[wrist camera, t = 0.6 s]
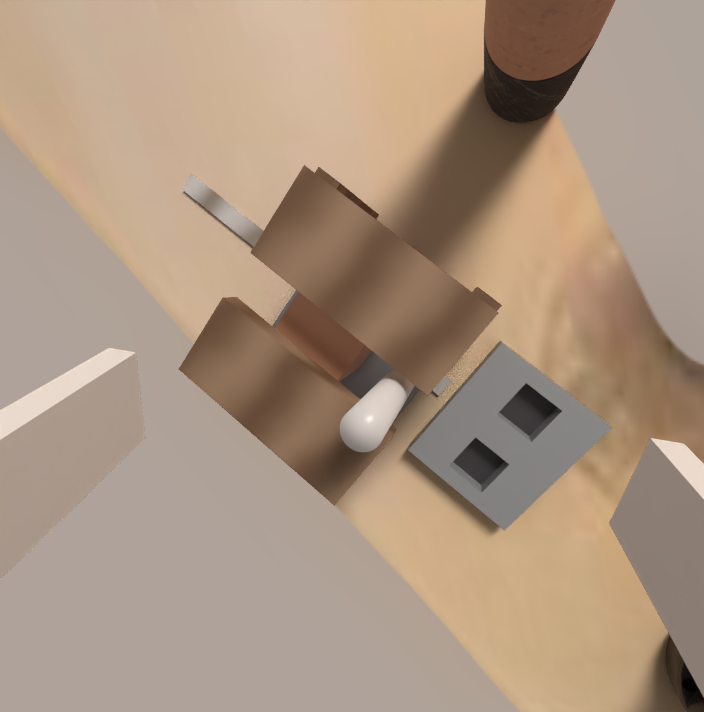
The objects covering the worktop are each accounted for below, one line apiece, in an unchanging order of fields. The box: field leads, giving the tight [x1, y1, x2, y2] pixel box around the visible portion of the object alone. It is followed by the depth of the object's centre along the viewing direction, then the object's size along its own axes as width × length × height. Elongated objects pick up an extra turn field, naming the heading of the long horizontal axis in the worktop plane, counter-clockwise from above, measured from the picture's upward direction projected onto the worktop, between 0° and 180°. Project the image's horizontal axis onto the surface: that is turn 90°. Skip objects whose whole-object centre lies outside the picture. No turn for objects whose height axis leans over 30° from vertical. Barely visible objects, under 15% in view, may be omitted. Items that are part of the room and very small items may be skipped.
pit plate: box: [408, 341, 612, 530], centre depth 41 cm, size 12×14×2 cm
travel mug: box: [484, 0, 615, 122], centre depth 28 cm, size 8×8×20 cm
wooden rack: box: [179, 165, 502, 505], centre depth 38 cm, size 36×19×15 cm, turn 53°
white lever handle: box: [273, 290, 420, 452], centre depth 33 cm, size 16×12×21 cm
